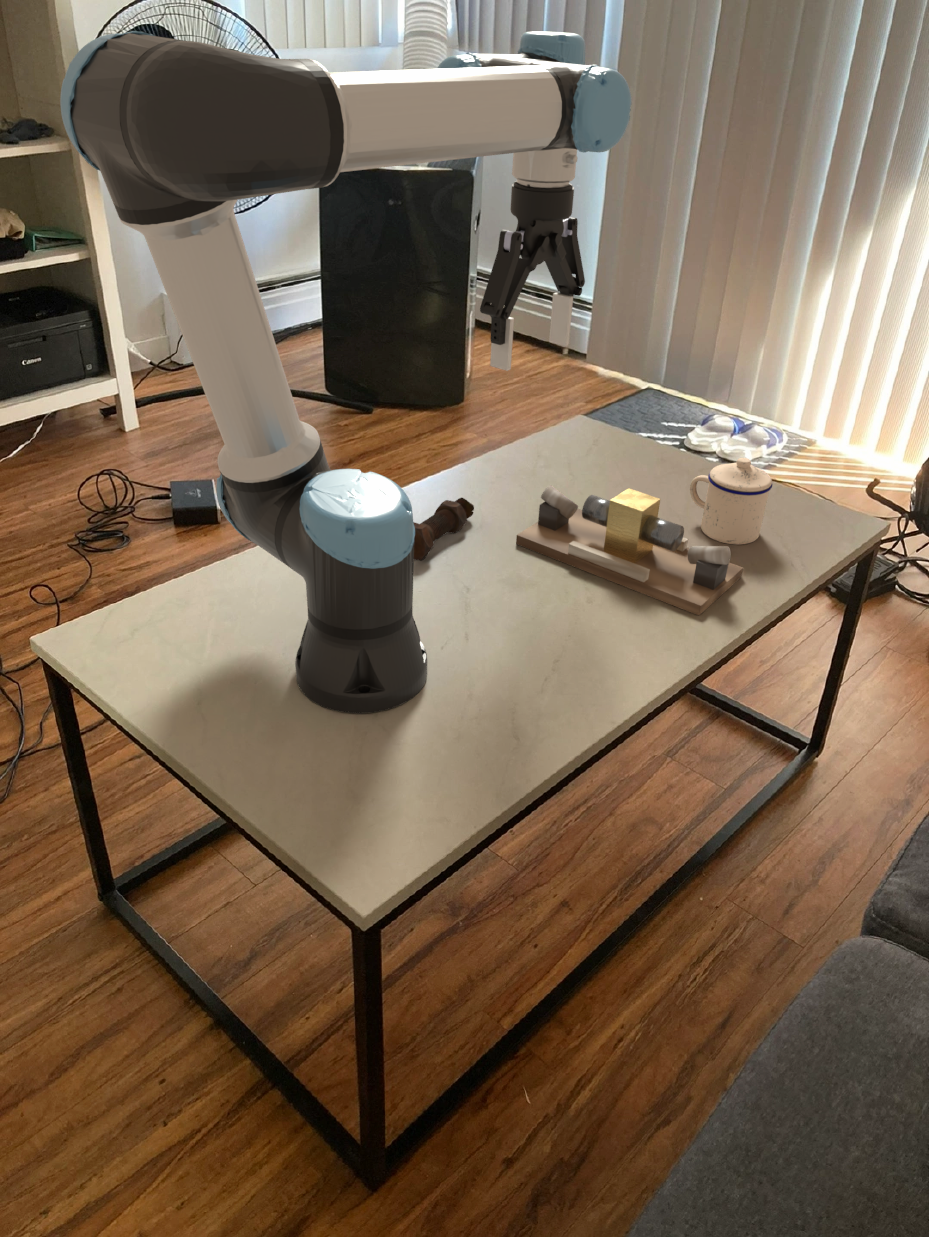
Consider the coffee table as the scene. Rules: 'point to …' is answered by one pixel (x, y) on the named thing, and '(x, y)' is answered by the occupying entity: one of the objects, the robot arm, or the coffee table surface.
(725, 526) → the teacup with lid
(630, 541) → the universal joint
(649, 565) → the coupling cradle
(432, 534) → the bolt
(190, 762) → the coffee table surface
